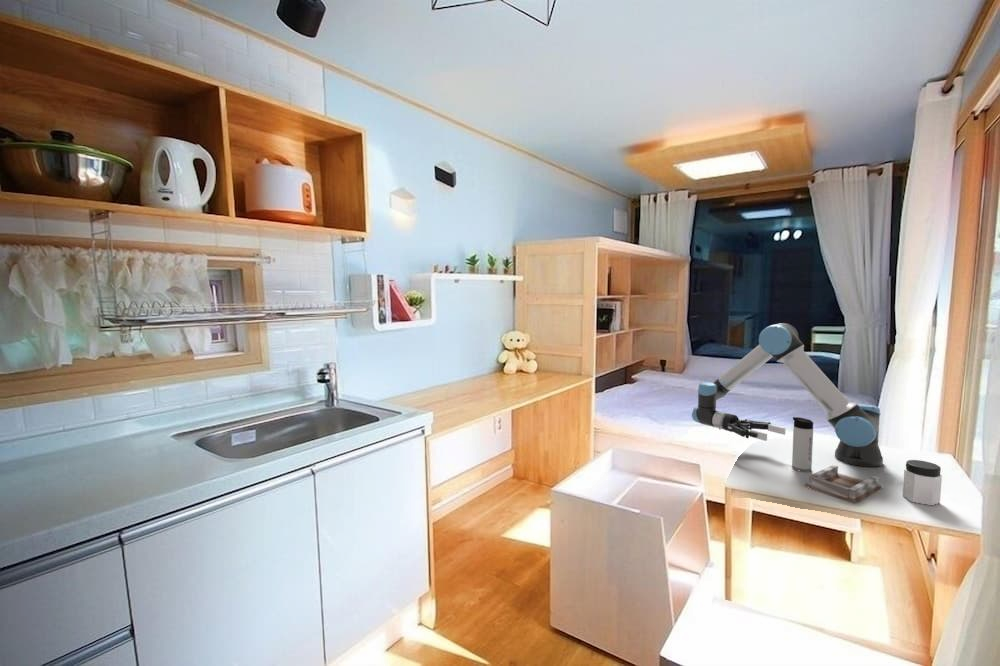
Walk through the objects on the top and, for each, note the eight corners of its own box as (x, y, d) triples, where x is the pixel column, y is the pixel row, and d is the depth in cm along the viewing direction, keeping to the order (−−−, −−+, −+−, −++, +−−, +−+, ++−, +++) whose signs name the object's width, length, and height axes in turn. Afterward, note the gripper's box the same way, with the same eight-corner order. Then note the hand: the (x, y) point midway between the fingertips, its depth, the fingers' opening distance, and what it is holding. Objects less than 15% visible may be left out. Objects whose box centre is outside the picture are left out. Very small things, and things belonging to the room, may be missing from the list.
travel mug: (789, 464, 177) (791, 415, 175) (809, 466, 174) (811, 417, 173) (792, 470, 171) (794, 419, 169) (813, 473, 169) (815, 421, 167)
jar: (896, 493, 151) (898, 458, 150) (923, 494, 150) (926, 459, 149) (917, 505, 142) (920, 469, 141) (946, 506, 141) (949, 470, 140)
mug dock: (832, 474, 167) (832, 463, 167) (881, 488, 154) (882, 477, 154) (804, 486, 157) (805, 475, 157) (855, 503, 144) (855, 491, 144)
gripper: (742, 425, 205) (791, 437, 187) (708, 434, 192) (758, 449, 174) (743, 409, 204) (792, 420, 186) (709, 418, 192) (758, 430, 174)
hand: (776, 434), depth 180 cm, fingers open, 13 cm apart
